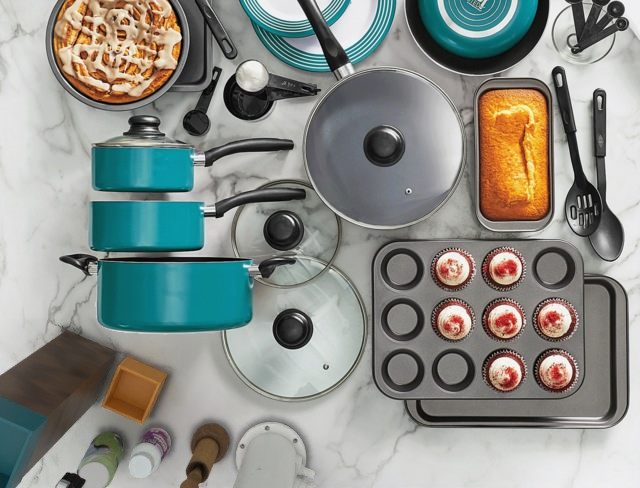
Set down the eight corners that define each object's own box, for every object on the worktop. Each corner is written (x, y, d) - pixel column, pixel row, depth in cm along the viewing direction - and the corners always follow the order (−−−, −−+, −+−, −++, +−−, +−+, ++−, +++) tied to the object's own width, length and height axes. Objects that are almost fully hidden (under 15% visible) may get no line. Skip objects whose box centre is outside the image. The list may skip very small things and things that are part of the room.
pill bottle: (177, 436, 122) (162, 462, 113) (162, 461, 123) (146, 489, 113) (151, 420, 122) (134, 445, 113) (136, 445, 123) (118, 472, 113)
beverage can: (88, 436, 123) (59, 468, 111) (125, 422, 123) (101, 453, 111) (100, 468, 123) (73, 504, 111) (138, 454, 123) (114, 489, 111)
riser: (117, 351, 122) (46, 416, 94) (95, 401, 123) (19, 481, 95) (66, 329, 122) (-19, 387, 94) (45, 379, 123) (-46, 452, 95)
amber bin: (167, 374, 122) (160, 383, 118) (150, 414, 122) (142, 425, 118) (127, 356, 122) (118, 364, 118) (110, 396, 122) (100, 406, 118)
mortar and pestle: (225, 462, 122) (203, 519, 104) (190, 455, 122) (162, 510, 104) (232, 426, 122) (211, 477, 104) (197, 419, 122) (170, 469, 104)
